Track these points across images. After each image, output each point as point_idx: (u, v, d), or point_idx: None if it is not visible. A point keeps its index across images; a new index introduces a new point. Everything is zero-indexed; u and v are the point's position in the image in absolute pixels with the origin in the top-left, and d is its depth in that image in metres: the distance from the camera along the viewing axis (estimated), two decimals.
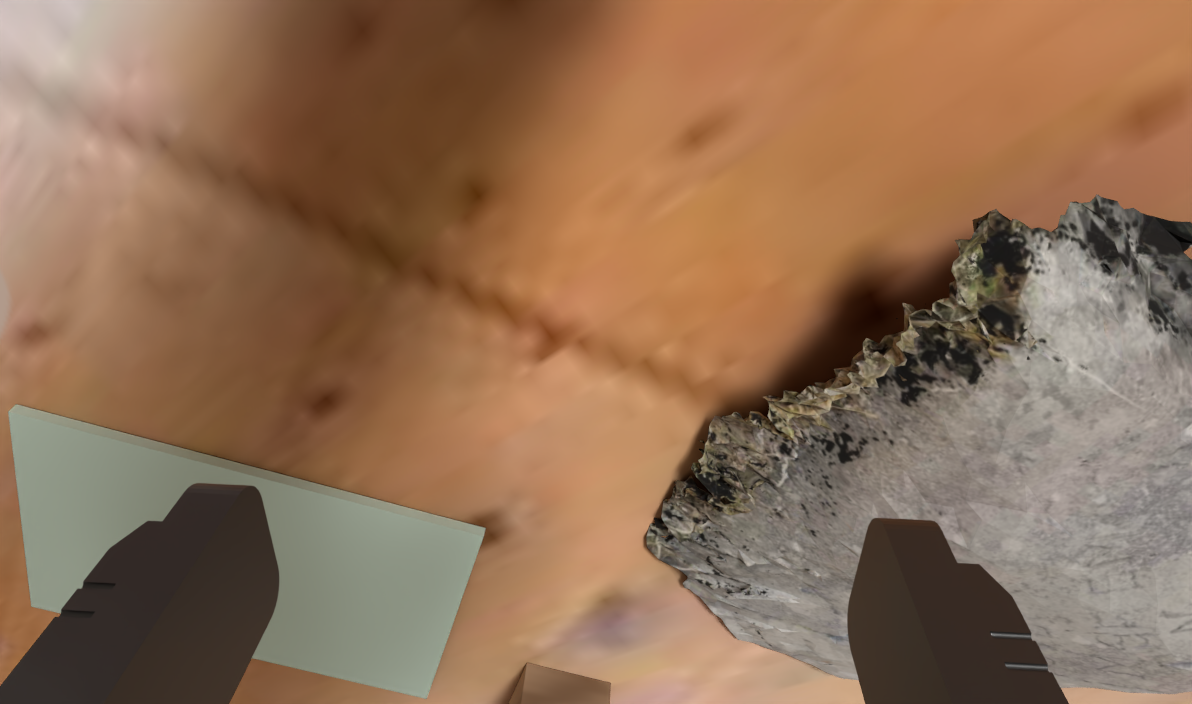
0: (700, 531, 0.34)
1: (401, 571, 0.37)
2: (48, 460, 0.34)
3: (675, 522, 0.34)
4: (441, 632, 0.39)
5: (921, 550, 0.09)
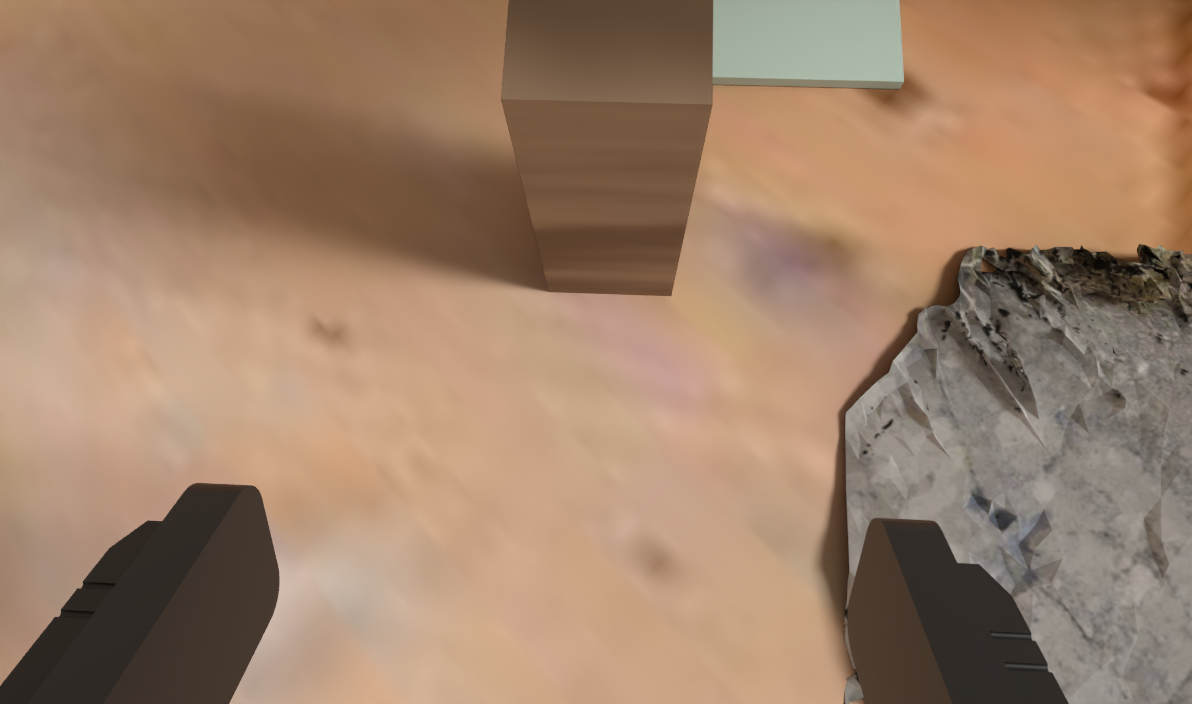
0: (1043, 288, 0.29)
1: (808, 11, 0.32)
2: None
3: (1043, 258, 0.29)
4: (714, 68, 0.31)
5: (921, 550, 0.09)
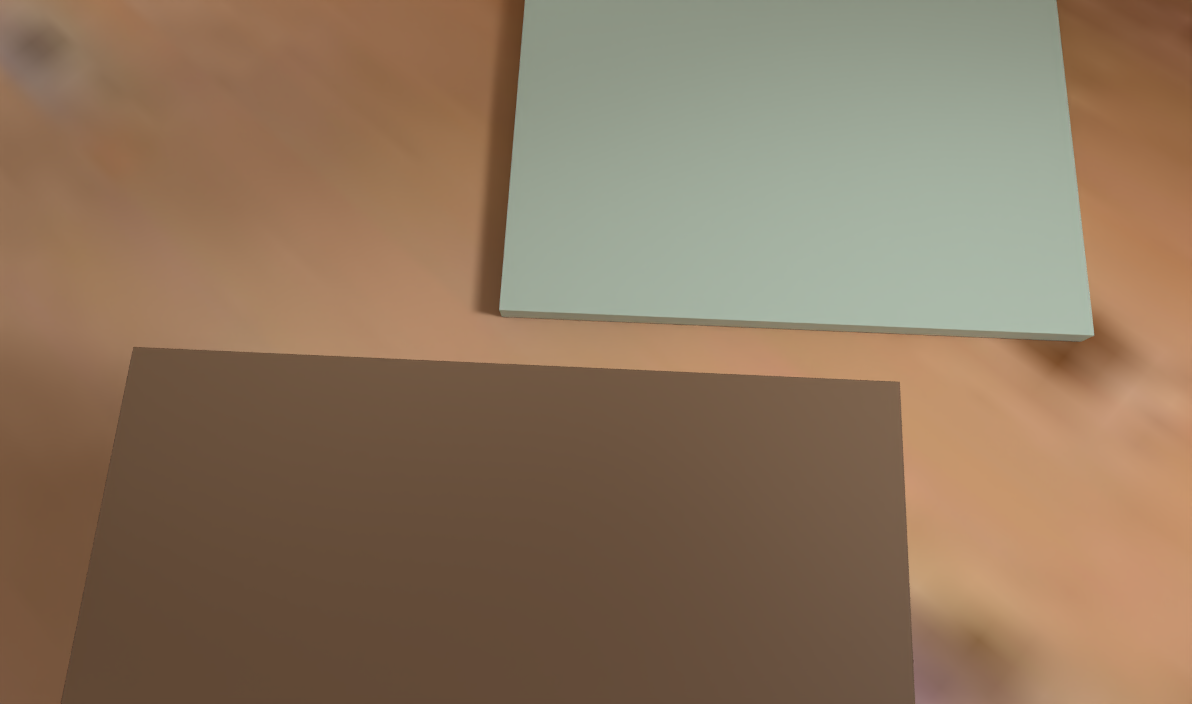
0: None
1: (920, 200, 0.18)
2: None
3: None
4: (758, 304, 0.18)
5: None
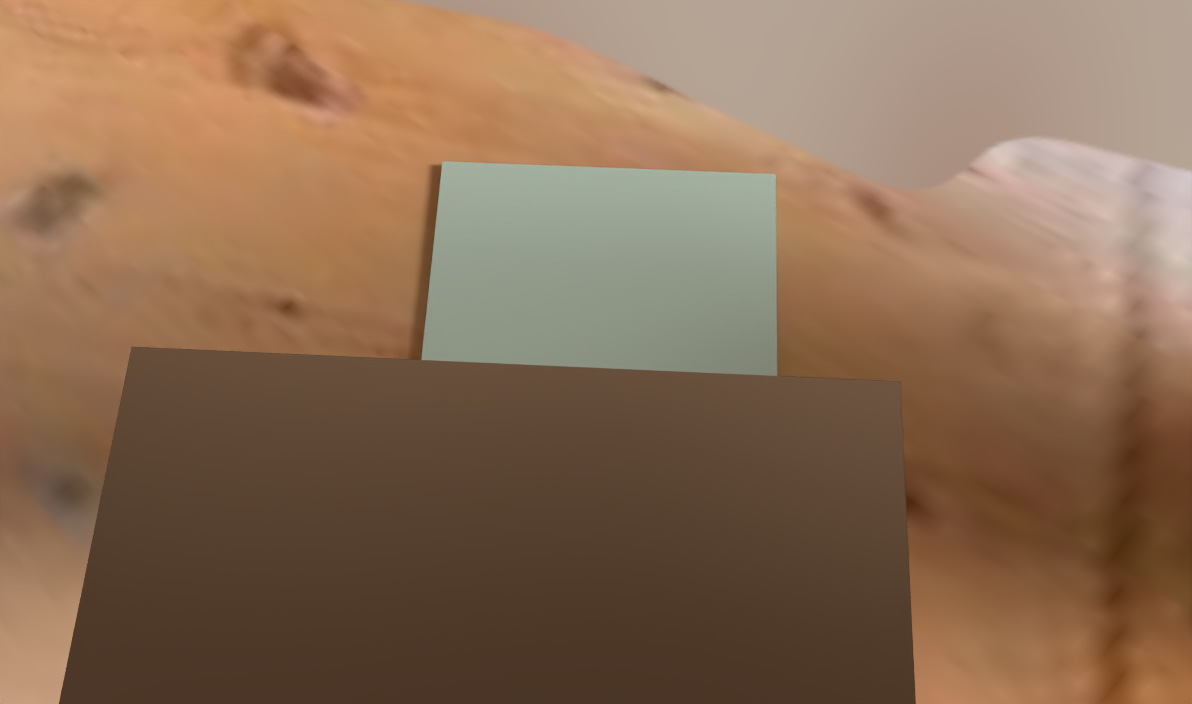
0: None
1: None
2: (716, 206, 0.31)
3: None
4: None
5: None
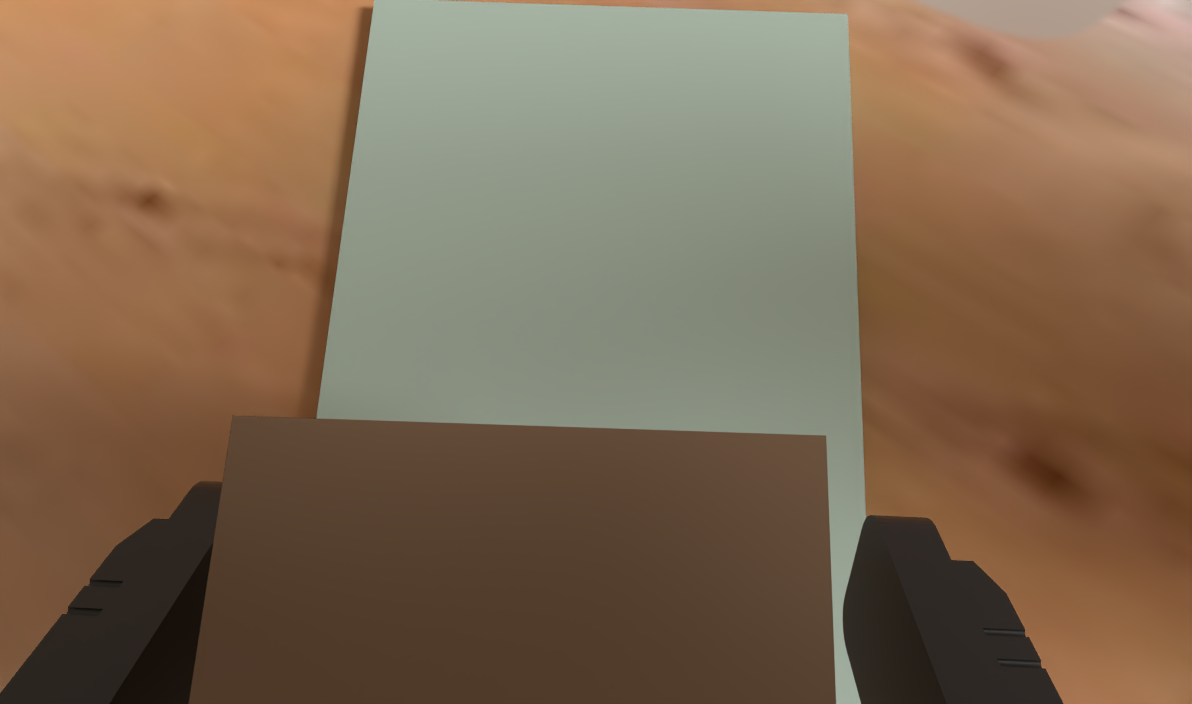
0: None
1: None
2: (764, 57, 0.22)
3: None
4: None
5: (915, 547, 0.09)
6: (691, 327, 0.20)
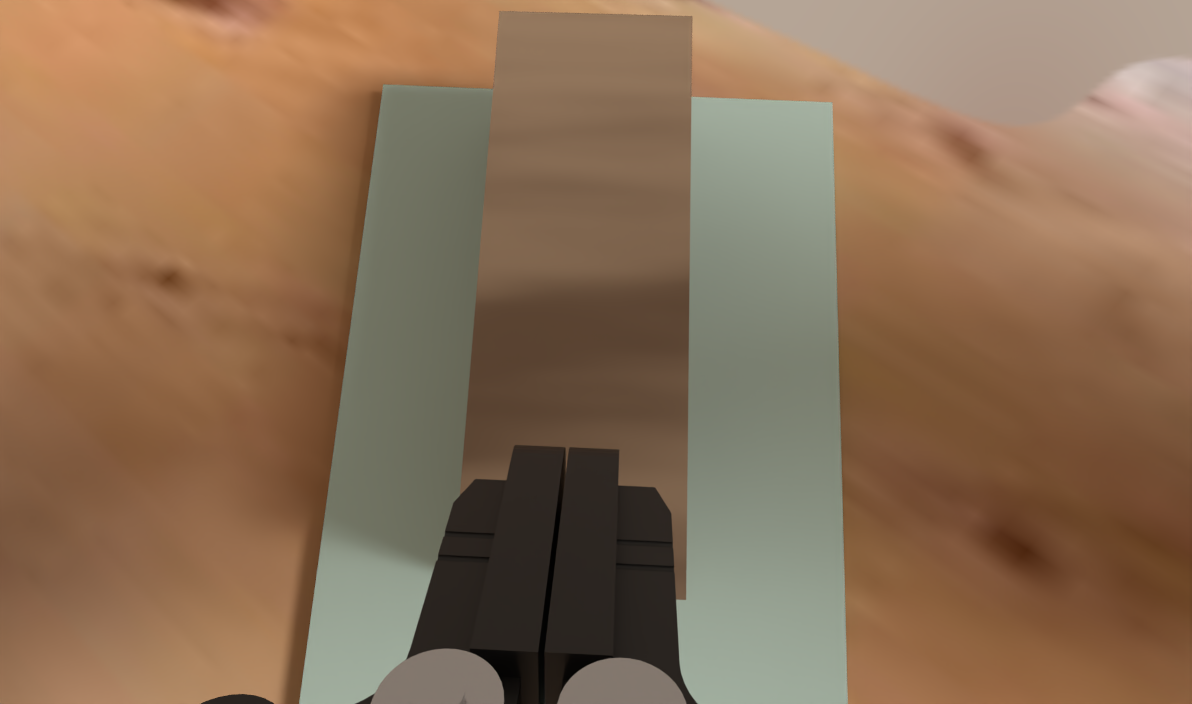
0: None
1: None
2: (753, 144, 0.23)
3: None
4: None
5: (591, 472, 0.10)
6: None
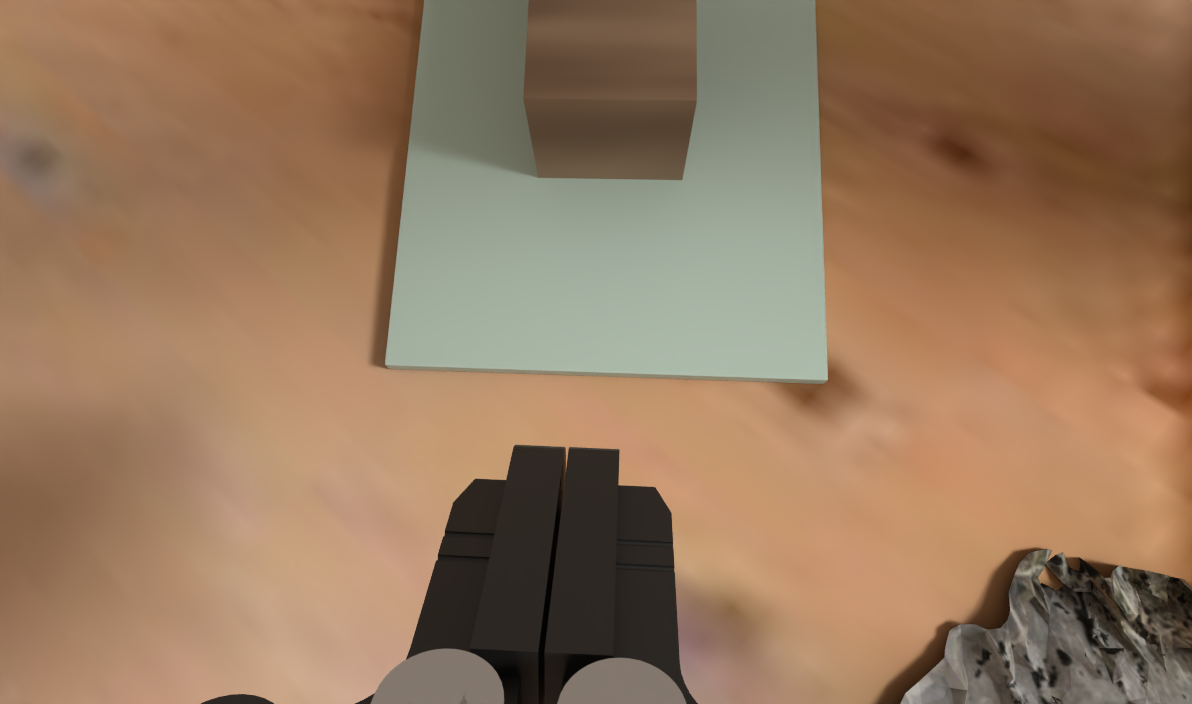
0: (1121, 629, 0.21)
1: (704, 277, 0.24)
2: None
3: (1127, 588, 0.22)
4: (579, 358, 0.24)
5: (591, 472, 0.10)
6: None
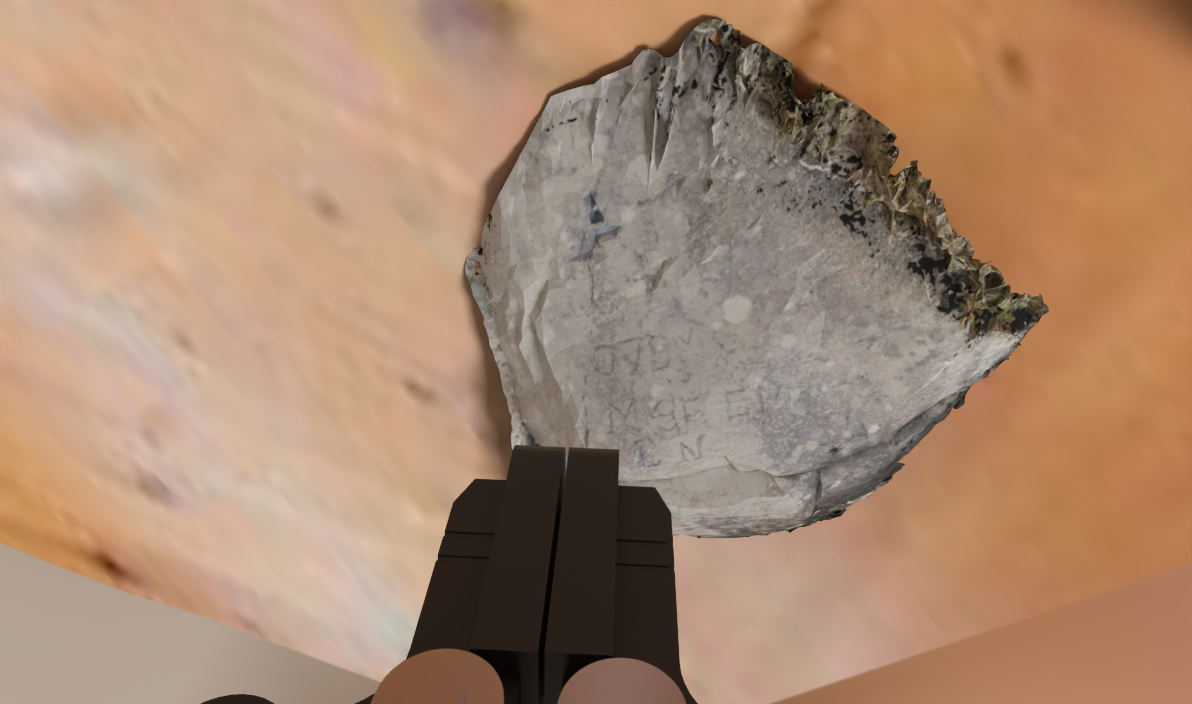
0: (735, 79, 0.36)
1: None
2: None
3: (751, 57, 0.35)
4: None
5: (591, 472, 0.10)
6: None
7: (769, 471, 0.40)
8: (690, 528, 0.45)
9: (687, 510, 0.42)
